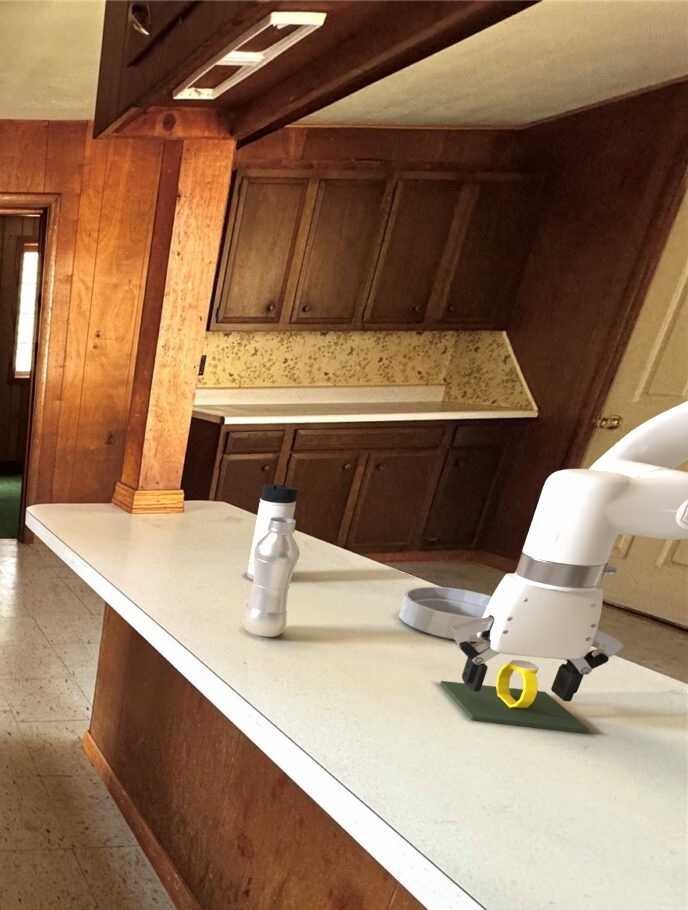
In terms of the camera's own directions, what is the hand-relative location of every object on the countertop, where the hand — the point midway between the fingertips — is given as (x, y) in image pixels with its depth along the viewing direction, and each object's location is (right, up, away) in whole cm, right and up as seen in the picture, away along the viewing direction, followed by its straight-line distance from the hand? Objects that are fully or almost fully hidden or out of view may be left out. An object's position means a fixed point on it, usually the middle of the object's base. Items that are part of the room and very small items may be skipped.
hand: (514, 691), depth 88 cm
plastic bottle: (-20, +6, +25) cm, 33 cm away
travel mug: (-5, +17, +50) cm, 53 cm away
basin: (+13, +8, +25) cm, 29 cm away
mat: (0, -2, +1) cm, 2 cm away
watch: (0, -2, +1) cm, 2 cm away
